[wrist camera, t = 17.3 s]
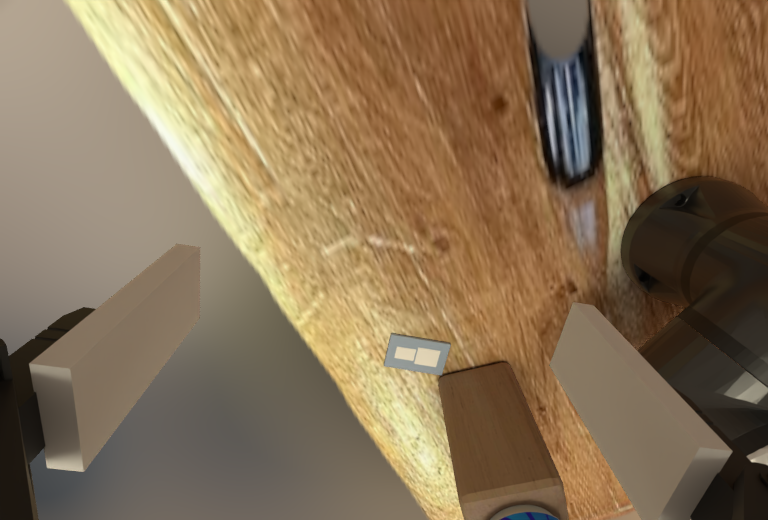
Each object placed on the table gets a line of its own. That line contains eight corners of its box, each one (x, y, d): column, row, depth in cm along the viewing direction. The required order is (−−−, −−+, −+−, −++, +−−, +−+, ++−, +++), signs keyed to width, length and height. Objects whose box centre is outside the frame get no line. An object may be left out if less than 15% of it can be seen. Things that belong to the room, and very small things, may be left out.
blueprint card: (450, 343, 57) (450, 345, 57) (441, 373, 59) (441, 375, 59) (391, 333, 57) (391, 335, 56) (383, 364, 59) (383, 366, 58)
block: (519, 414, 62) (577, 555, 43) (451, 429, 63) (478, 572, 44) (508, 357, 58) (565, 484, 40) (435, 374, 59) (458, 505, 41)
